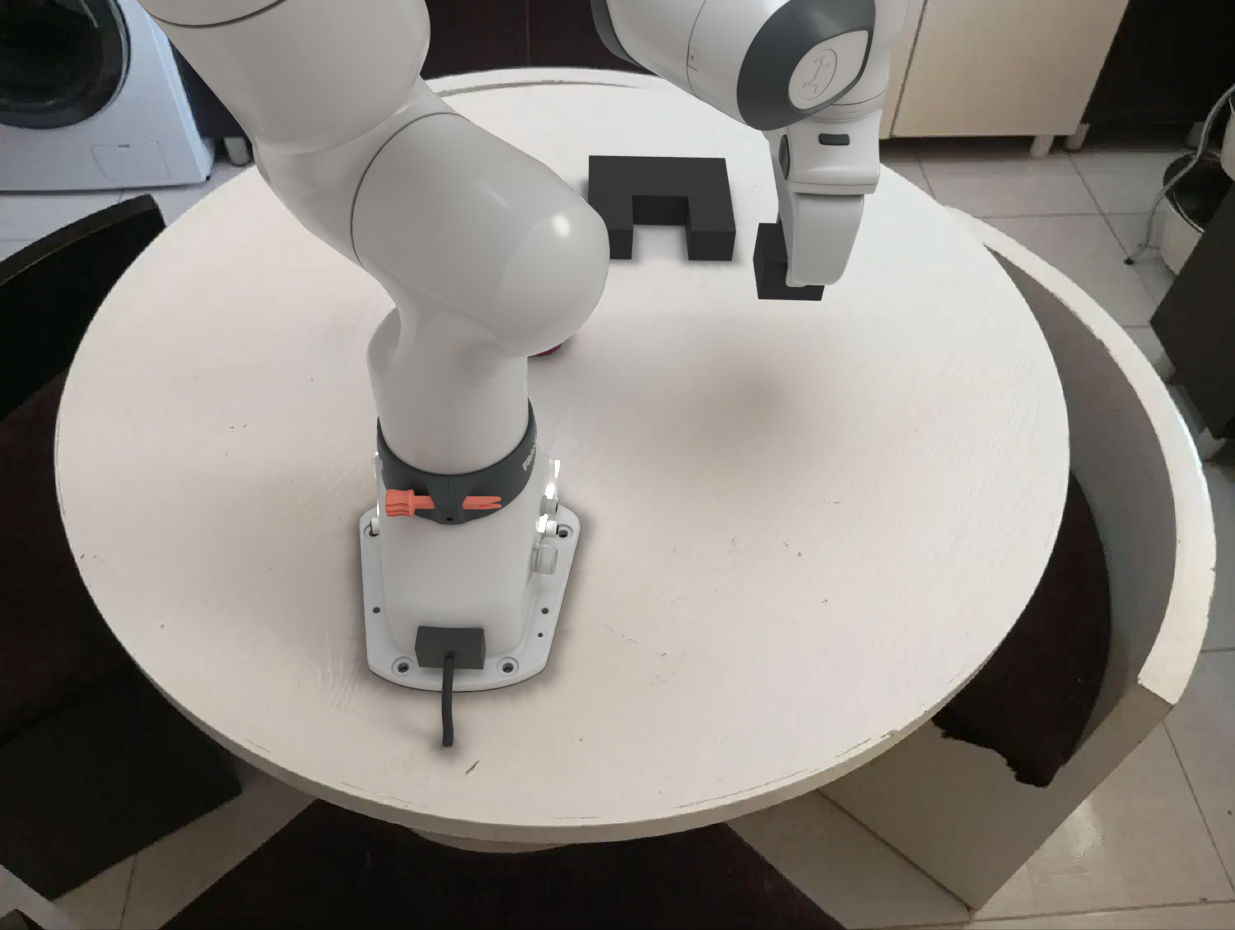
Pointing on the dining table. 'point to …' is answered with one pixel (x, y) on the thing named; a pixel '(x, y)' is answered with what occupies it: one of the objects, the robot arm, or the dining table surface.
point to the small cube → (777, 268)
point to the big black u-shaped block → (664, 201)
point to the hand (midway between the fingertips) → (790, 256)
